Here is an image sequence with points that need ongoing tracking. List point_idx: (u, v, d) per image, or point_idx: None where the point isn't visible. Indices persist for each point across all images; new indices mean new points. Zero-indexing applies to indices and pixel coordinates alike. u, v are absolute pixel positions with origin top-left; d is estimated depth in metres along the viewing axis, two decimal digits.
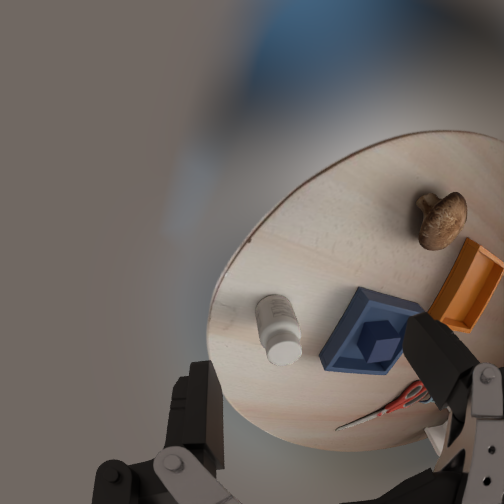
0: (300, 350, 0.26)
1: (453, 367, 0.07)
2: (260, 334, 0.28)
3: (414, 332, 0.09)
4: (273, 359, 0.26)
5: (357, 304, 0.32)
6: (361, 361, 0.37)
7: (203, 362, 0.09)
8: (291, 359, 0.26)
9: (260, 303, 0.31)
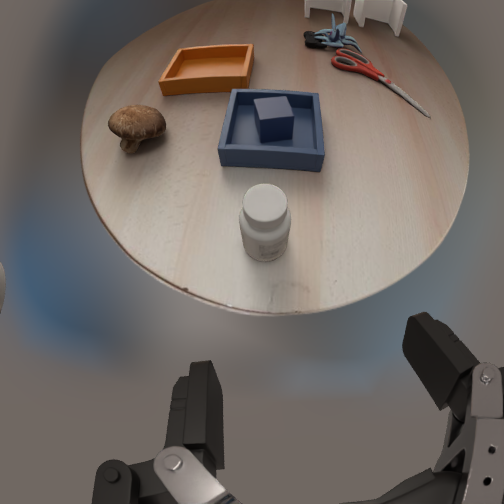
0: (256, 186, 0.21)
1: (453, 367, 0.07)
2: (265, 241, 0.23)
3: (414, 332, 0.09)
4: (277, 211, 0.20)
5: (233, 158, 0.30)
6: (312, 125, 0.32)
7: (203, 362, 0.09)
8: (273, 191, 0.21)
9: (255, 257, 0.27)
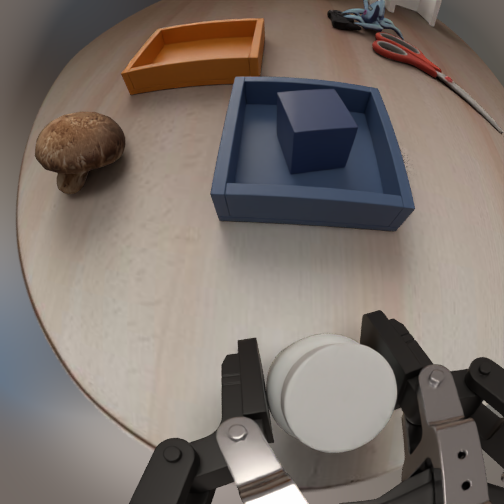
0: (320, 355, 0.07)
1: None
2: None
3: (367, 330, 0.10)
4: (372, 424, 0.06)
5: (243, 209, 0.16)
6: (375, 141, 0.18)
7: (250, 339, 0.10)
8: (365, 367, 0.07)
9: None
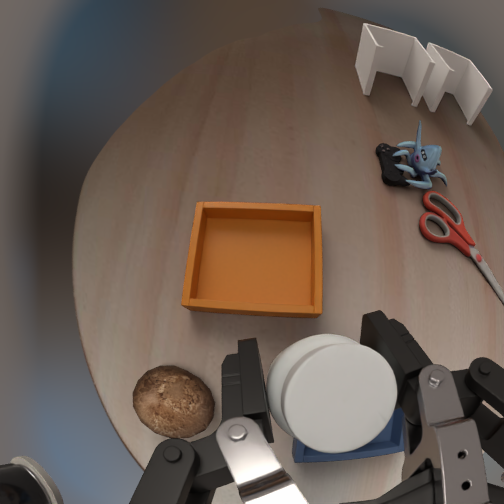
0: (320, 356, 0.07)
1: None
2: None
3: (367, 330, 0.10)
4: (372, 424, 0.06)
5: None
6: None
7: (250, 339, 0.10)
8: (365, 367, 0.07)
9: None
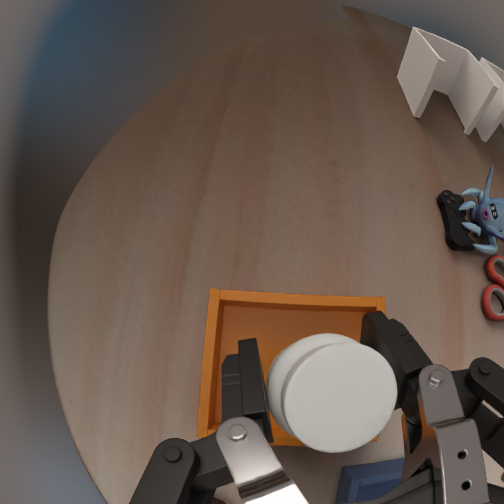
0: (320, 355, 0.07)
1: None
2: None
3: (367, 330, 0.10)
4: (372, 424, 0.06)
5: None
6: None
7: (250, 339, 0.10)
8: (365, 366, 0.07)
9: None
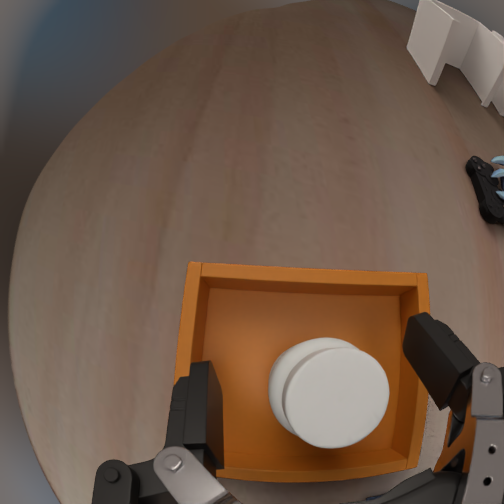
0: (318, 359, 0.08)
1: (453, 367, 0.07)
2: None
3: (414, 332, 0.09)
4: (366, 422, 0.07)
5: None
6: None
7: (203, 362, 0.09)
8: (359, 369, 0.08)
9: None
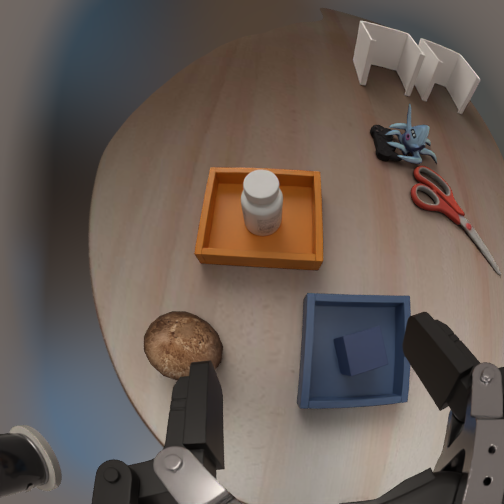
0: (253, 171, 0.27)
1: (453, 367, 0.07)
2: (262, 216, 0.28)
3: (414, 332, 0.09)
4: (270, 190, 0.26)
5: None
6: (397, 341, 0.27)
7: (203, 362, 0.09)
8: (267, 175, 0.26)
9: (254, 233, 0.32)
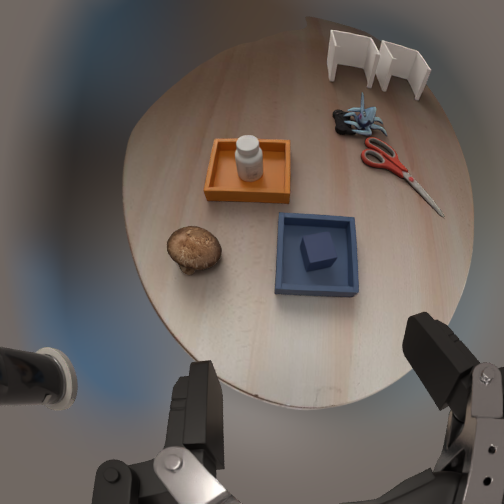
0: (243, 136, 0.41)
1: (453, 367, 0.07)
2: (248, 164, 0.42)
3: (414, 332, 0.09)
4: (253, 146, 0.40)
5: (286, 292, 0.38)
6: (348, 250, 0.40)
7: (203, 362, 0.09)
8: (251, 138, 0.40)
9: (244, 179, 0.46)
